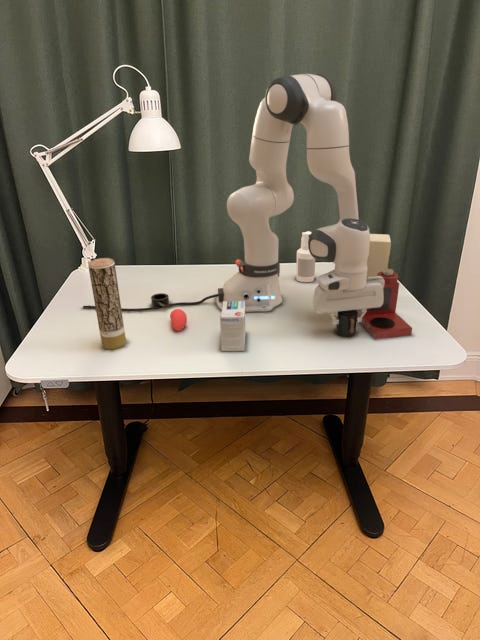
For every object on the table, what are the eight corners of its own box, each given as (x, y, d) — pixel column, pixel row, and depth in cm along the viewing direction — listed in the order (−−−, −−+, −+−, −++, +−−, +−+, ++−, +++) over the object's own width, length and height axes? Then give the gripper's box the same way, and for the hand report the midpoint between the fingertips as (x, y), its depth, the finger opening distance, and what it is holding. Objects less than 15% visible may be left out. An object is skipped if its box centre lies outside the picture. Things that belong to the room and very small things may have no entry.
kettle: (342, 341, 138) (344, 316, 134) (331, 327, 146) (333, 303, 142) (360, 339, 139) (363, 314, 135) (349, 325, 147) (351, 301, 143)
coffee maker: (360, 323, 148) (365, 280, 142) (353, 314, 153) (357, 273, 147) (395, 319, 149) (401, 277, 143) (387, 311, 155) (392, 270, 149)
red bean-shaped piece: (191, 323, 153) (184, 305, 152) (189, 326, 144) (180, 307, 143) (176, 330, 153) (168, 311, 152) (173, 333, 144) (164, 313, 144)
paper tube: (114, 352, 135) (100, 268, 124) (97, 346, 138) (82, 264, 127) (131, 342, 140) (119, 260, 129) (114, 336, 143) (101, 256, 132)
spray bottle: (302, 284, 177) (304, 236, 169) (292, 278, 182) (293, 231, 174) (317, 280, 180) (320, 233, 171) (307, 274, 185) (309, 228, 177)
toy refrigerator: (385, 302, 161) (393, 241, 151) (363, 301, 162) (369, 240, 153) (384, 293, 168) (391, 234, 158) (362, 291, 169) (368, 233, 160)
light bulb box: (223, 333, 144) (222, 300, 139) (246, 333, 143) (245, 300, 139) (221, 351, 134) (219, 316, 129) (245, 351, 134) (244, 316, 129)
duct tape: (174, 298, 167) (174, 291, 166) (168, 311, 158) (168, 303, 157) (152, 298, 168) (151, 290, 166) (145, 310, 159) (144, 302, 157)
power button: (385, 278, 144) (385, 272, 143) (380, 274, 147) (381, 269, 146) (394, 277, 145) (395, 271, 144) (390, 273, 147) (390, 268, 146)
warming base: (375, 339, 139) (379, 304, 134) (360, 323, 148) (364, 290, 143) (411, 335, 140) (416, 300, 135) (394, 319, 149) (399, 286, 144)
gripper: (380, 271, 139) (375, 314, 145) (312, 277, 136) (310, 321, 142) (390, 279, 133) (384, 323, 140) (319, 285, 130) (316, 331, 136)
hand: (346, 322), depth 141 cm, fingers closed on kettle, 6 cm apart
